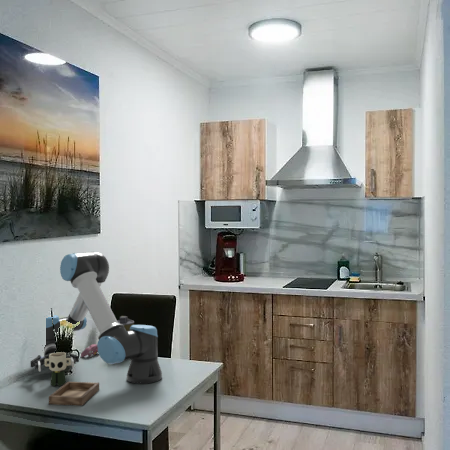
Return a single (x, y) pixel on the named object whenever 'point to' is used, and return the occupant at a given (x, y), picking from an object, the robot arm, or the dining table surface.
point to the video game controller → (90, 350)
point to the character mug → (57, 367)
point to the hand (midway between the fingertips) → (56, 366)
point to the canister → (126, 322)
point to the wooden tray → (74, 393)
